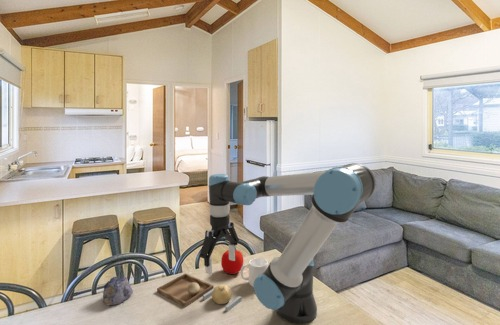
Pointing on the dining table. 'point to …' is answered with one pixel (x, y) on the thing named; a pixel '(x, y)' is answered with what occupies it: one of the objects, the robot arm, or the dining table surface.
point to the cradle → (226, 305)
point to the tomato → (232, 262)
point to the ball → (193, 288)
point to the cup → (254, 269)
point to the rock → (117, 290)
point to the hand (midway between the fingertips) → (220, 266)
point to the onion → (221, 294)
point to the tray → (184, 289)
